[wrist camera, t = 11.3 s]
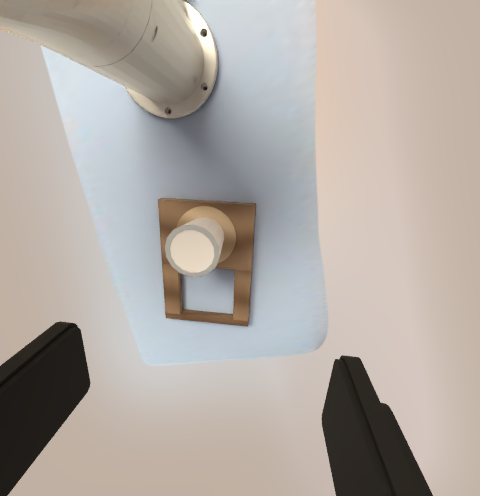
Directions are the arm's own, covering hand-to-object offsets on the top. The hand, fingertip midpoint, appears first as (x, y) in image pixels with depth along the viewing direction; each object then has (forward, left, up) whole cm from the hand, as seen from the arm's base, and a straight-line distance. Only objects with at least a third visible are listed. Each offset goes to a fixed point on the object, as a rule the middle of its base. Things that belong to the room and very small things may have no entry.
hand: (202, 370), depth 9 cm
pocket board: (+9, -7, -30) cm, 32 cm away
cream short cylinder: (+4, -7, -28) cm, 29 cm away
